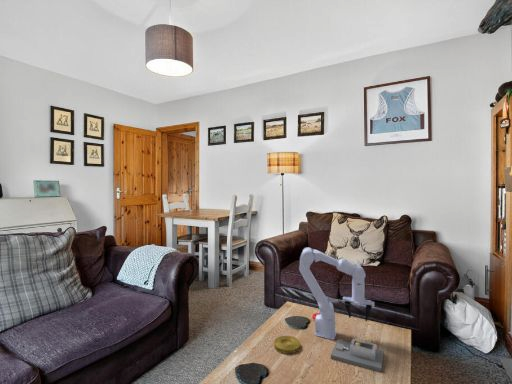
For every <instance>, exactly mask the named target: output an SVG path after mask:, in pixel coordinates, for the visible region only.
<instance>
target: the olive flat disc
mask: <svg viewBox="0 0 512 384" xmlns="http://www.w3.org/2000/svg"><path fill="white" fill-rule="evenodd" d="M273 346H274V348H275V350H276V351H278V352H279V353H280V352H281V353H280V354H283V353H286V354H285V355H287V354H293V353H296V352H300V350H301V342H300V340H299V339H298V338H296V337H295V336H291V335H281V336H277V338H275V339H274V341H273Z"/></svg>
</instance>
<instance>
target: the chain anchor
mask: <svg viewBox="0 0 512 384" xmlns="http://www.w3.org/2000/svg"><path fill="white" fill-rule="evenodd" d="M343 349H345V350H348V348H347V347H344V345H342V344H338V343H337V346H336V350H339V351H343Z"/></svg>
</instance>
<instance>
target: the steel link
mask: <svg viewBox="0 0 512 384" xmlns="http://www.w3.org/2000/svg"><path fill="white" fill-rule="evenodd" d="M356 342H358V343H360V346H357V345H355V343H356ZM376 349H377V344H376V343H372V342H367V341H363V340H360V339H356V338H355V339H354V338H351V344H350V355H354V356H358V357H361V358H365V359H369V360H373V361H375V359H376Z"/></svg>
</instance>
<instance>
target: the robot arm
mask: <svg viewBox="0 0 512 384" xmlns="http://www.w3.org/2000/svg"><path fill="white" fill-rule="evenodd" d="M317 262H324V263H326V264H328V265H332V266H334V267H336V269H337V270H338V271H339V272H341V273H344V274H346V275H349V276H352V279H351V296H343V297H342V302H343V303H344V306H345V308H346V311H347V314H348V318H350V319H351V317H352V304H355V305H362V306H365V319H364V320H365V321H366V322H368V318H369V314H370V312H371V310H372V308H375V301H373V300H370V299H369V300H368V299H365V290H366V289H365V286H366V284H365V278H366V277H367V276H366V272H365V269H364V268H363V267H362V266H361V265H360V264H357V263H352V262H350V261H349V260H348V259H346V258H344V259H342V258H341V259H337V258H334V257H332V256H330V255H328V254H326V253H324V252H322V251H320V250H318V249H315V248H311V247H309V246H308V247H304V248H303V249H302V252H301V253H300V256H299V269H298V271H299V272H300V275H301V276H302V277H303V280H304V281H305V283H306V285H307V286H308V288H309V290H310V291H311V293H312V295H313V297H314V298H315V300H316V302H317V304H318V308H319V311H320V310H321V314H320V315H316V319H315V320H314V336H317V337H320V338H325V339H328V340H333V341H334V340H335V338H336V336H337V334H338V331H336V316H335V314H336V313H335V309H334V303H333V302H332V301H331V300H330V299H329V298H328V297H327V296H326V294H325V293H324V292H323V290H322V288H321V286H320V285H319V283H318V281H317V279H316V278H315V276H314V274H313V273H312V271H311V265H312V264H313V263H317Z"/></svg>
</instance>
